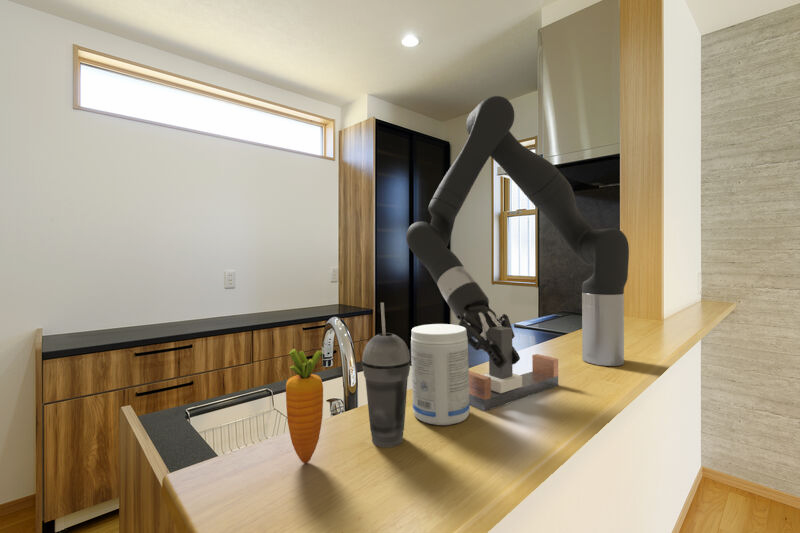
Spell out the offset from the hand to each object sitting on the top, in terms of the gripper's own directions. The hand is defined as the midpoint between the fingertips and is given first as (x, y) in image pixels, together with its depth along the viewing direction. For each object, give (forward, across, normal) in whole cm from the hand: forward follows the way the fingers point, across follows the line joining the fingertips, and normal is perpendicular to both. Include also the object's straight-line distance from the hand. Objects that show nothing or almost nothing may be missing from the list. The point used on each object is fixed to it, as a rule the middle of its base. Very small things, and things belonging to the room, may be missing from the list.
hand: (509, 363), depth 69 cm
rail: (+4, +4, +6) cm, 8 cm away
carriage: (+2, 0, +5) cm, 5 cm away
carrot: (+4, -38, +6) cm, 39 cm away
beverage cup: (+4, -26, +6) cm, 27 cm away
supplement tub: (+3, -14, +7) cm, 16 cm away
